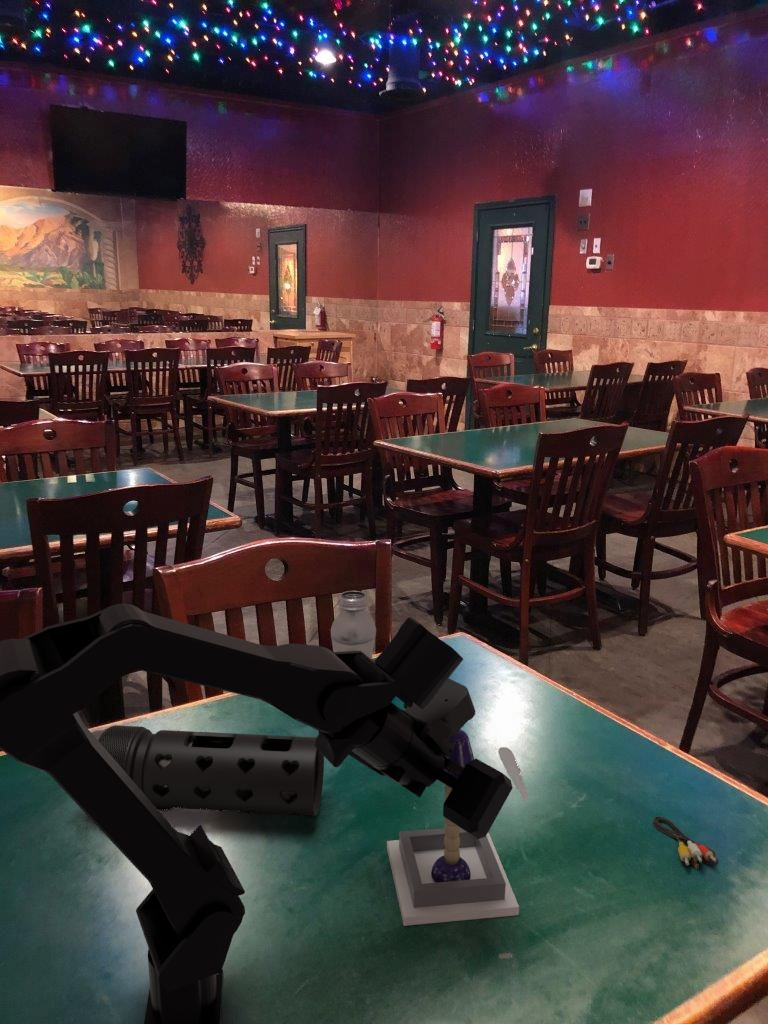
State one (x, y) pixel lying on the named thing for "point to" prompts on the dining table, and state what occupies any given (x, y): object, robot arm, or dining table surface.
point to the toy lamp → (451, 862)
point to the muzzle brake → (220, 769)
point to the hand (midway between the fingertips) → (461, 794)
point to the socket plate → (453, 898)
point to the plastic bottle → (353, 625)
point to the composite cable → (686, 844)
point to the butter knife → (513, 770)
